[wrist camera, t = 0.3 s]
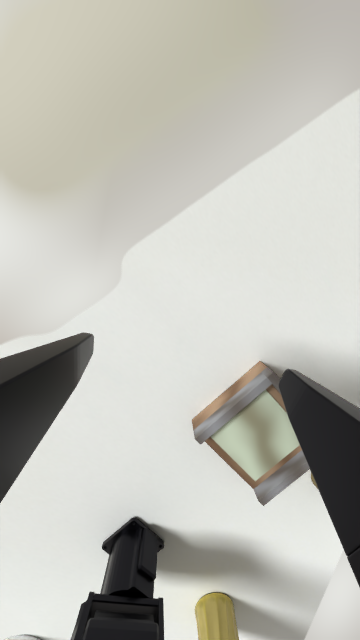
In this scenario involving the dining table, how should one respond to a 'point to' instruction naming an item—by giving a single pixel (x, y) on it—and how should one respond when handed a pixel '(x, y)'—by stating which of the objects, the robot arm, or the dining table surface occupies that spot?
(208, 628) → the vase
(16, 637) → the ramekin
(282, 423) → the wooden tray
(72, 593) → the dining table surface
